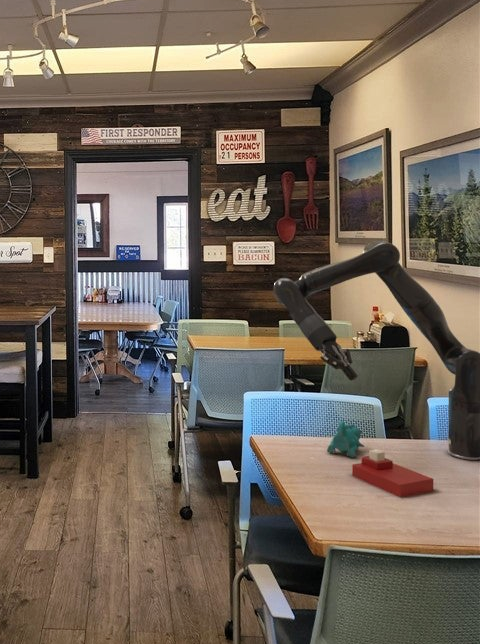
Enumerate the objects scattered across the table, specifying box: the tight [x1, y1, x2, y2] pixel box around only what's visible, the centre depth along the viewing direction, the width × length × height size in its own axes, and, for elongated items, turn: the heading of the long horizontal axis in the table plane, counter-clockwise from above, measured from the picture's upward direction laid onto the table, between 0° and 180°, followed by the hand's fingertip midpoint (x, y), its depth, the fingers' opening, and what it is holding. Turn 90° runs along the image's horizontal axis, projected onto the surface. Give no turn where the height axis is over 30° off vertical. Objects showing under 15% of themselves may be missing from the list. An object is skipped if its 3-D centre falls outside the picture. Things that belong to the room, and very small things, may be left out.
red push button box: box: [351, 455, 434, 498], centre depth 167 cm, size 12×16×5 cm
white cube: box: [368, 448, 386, 462], centre depth 171 cm, size 3×3×3 cm
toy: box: [326, 420, 365, 459], centre depth 193 cm, size 10×12×15 cm
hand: (354, 378), depth 179 cm, fingers closed
